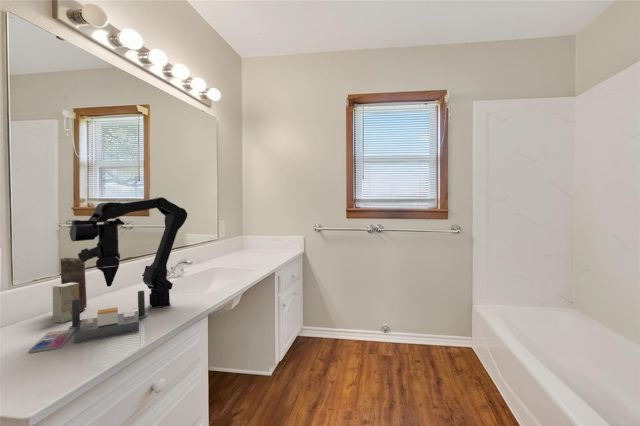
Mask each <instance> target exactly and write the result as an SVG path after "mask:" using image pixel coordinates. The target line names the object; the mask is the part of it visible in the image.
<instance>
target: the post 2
mask: <svg viewBox="0 0 640 426" xmlns="http://www.w3.org/2000/svg"><path fill="white" fill-rule="evenodd" d="M145 303H146V300H145V290H138V291H137V307H138V308H137V311H138V318H139V320H141V319H142V320H143V319H145V318H148V317H149V315H148V313H146V308H145V307H146V304H145Z"/></svg>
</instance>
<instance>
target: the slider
mask: <svg viewBox="0 0 640 426" xmlns="http://www.w3.org/2000/svg"><path fill="white" fill-rule="evenodd" d="M118 309H119V307H117V306H115V307H110V308H105V309H104V308H103V309H98V310H97V311H96V312H97V313H96V314H97V317H96V318H97V319H98V326H102V325H108V324H114V323H118V314H119V310H118Z"/></svg>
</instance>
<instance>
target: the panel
mask: <svg viewBox="0 0 640 426" xmlns="http://www.w3.org/2000/svg"><path fill="white" fill-rule="evenodd" d="M139 331H140V319H139V318H138V310H137V311H135V310H132V311H128V312H122V313H118V323H114V324H108V325H102V326H98V319H97V317H89V318H84V319H80V320H79V322H78V324H77V327H76V329H75V331H74V334H73V344H78V343H83V342H89V341H94V340H99V339H105V338H111V337H115V336H121V335H125V334H132V333H136V332H137V333H138V332H139Z"/></svg>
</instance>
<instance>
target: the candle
mask: <svg viewBox="0 0 640 426" xmlns="http://www.w3.org/2000/svg"><path fill="white" fill-rule="evenodd" d="M66 283H79V299H80V312H81V311H83V310H84V309H86V308H87V305H88V304H87V287H86V285H87V283H86V265H85V262H83V263H82V262H81V260H80V259H79V257H78V258H77V257H64V258H60V285H61V284H66Z"/></svg>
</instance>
